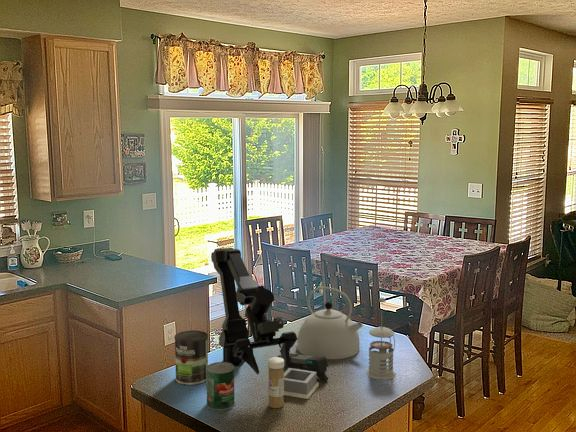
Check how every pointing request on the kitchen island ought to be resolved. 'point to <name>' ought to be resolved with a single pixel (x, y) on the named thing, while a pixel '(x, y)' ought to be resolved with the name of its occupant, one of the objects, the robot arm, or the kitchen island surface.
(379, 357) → the french press
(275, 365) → the sprinkles bottle
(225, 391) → the canned tomato
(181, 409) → the kitchen island surface
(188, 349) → the coffee can
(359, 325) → the kettle
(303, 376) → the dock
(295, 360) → the gun
